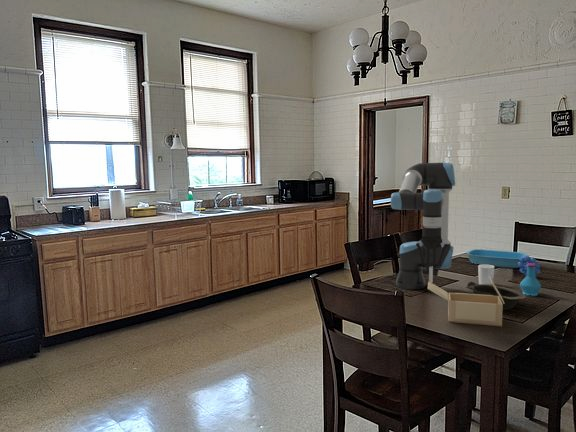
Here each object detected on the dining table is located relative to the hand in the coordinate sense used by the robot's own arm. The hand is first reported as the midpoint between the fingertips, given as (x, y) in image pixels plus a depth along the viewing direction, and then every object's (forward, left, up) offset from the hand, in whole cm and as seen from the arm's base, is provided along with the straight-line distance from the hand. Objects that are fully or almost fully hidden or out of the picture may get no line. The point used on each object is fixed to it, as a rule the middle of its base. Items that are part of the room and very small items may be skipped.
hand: (430, 281), depth 195 cm
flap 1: (+3, 0, -4) cm, 5 cm away
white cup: (+27, +59, -15) cm, 67 cm away
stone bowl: (+28, +23, -15) cm, 40 cm away
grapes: (+51, +81, -15) cm, 98 cm away
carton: (+17, 0, -15) cm, 23 cm away
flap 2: (+26, 0, -2) cm, 26 cm away
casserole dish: (+38, +113, -15) cm, 121 cm away
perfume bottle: (+46, +46, -15) cm, 67 cm away
